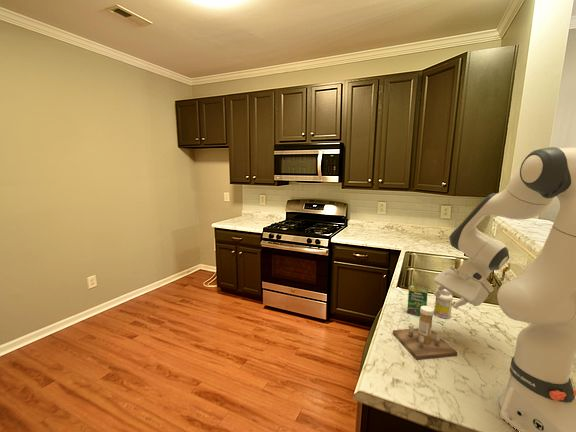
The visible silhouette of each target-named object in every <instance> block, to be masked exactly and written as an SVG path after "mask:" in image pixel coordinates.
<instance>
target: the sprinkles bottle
mask: <svg viewBox="0 0 576 432" xmlns="http://www.w3.org/2000/svg"><path fill="white" fill-rule="evenodd" d="M434 314H435V308H432V307H431V306H428V305H427V306H421V307H420V316H419V320H418V321H419V322H418V328H419V330H418V340H419V336H420V335H422V336H424V344H429V343H430V337H431V330H432V327H433V316H434Z"/></svg>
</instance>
